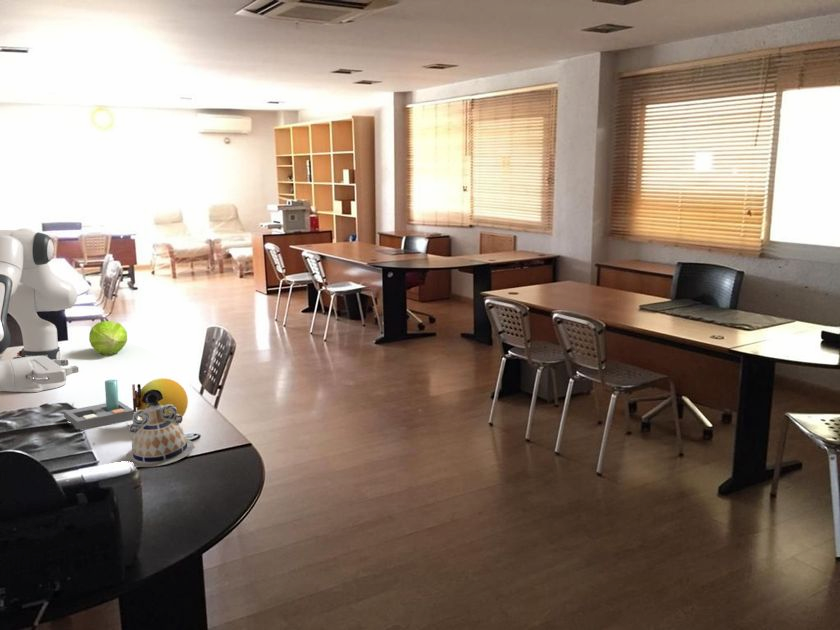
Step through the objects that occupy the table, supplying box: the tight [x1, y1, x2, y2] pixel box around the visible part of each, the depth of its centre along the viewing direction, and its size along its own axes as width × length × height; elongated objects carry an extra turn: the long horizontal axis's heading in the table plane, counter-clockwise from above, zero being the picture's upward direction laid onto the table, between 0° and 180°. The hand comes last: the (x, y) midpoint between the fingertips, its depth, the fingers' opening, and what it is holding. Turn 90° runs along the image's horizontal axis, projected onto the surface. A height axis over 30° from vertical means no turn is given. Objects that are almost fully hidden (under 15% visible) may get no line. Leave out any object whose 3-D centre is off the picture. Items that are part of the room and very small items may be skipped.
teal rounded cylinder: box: [104, 379, 119, 412], centre depth 217 cm, size 4×4×12 cm
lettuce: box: [88, 320, 128, 356], centre depth 301 cm, size 15×23×16 cm
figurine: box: [124, 389, 195, 468], centre depth 187 cm, size 18×18×20 cm
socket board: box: [63, 400, 135, 431], centre depth 215 cm, size 13×17×3 cm
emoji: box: [131, 377, 189, 420], centre depth 210 cm, size 16×16×15 cm
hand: (72, 365), depth 208 cm, fingers open, 8 cm apart
